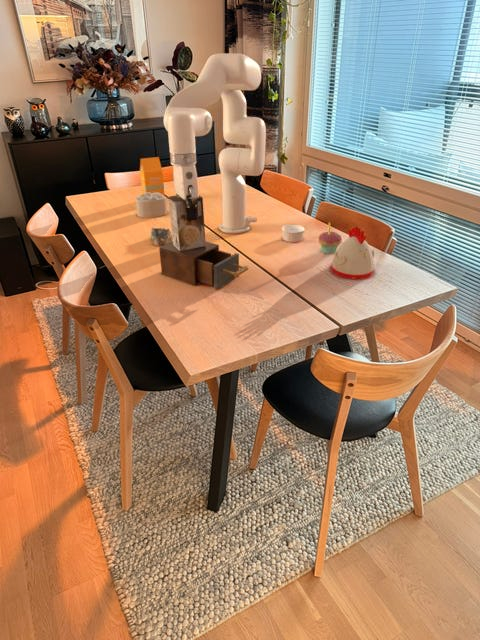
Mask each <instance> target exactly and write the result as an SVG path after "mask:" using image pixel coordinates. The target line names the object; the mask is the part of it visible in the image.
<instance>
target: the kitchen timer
mask: <svg viewBox="0 0 480 640" xmlns="http://www.w3.org/2000/svg"><path fill="white" fill-rule="evenodd" d="M366 238H367V235H365V230H361V228H358V226H355V227H354V228H351V230H350V229H349V230H348V238H347V239H345V240H344V241H342V243H341V244H340V245H339V246H338V247H337V249H336V251H335V253H333V258H332V261H331V264H330V265H331V266H330V269H331V273H333V274H334V275H336V276H337V277H340V278H342V279H347V280H365V279H368V278H370V277H372V276H373V274H374V269H375V260H374V258H375V251H374V249H371V247H370V245H369V243H368V242H367V241H366Z"/></svg>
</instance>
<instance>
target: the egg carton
mask: <svg viewBox="0 0 480 640" xmlns="http://www.w3.org/2000/svg"><path fill="white" fill-rule="evenodd" d="M171 235H172V231H170V229H169V228H165V227H162V228H161V227H160V228H158V227H157V228H156V227H151V231H150V238H151V239H152V244H153V245H154V246H158V247H160V246H161V245H165V244H167V243H170V242H172V239H171Z"/></svg>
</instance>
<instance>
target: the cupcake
mask: <svg viewBox="0 0 480 640" xmlns="http://www.w3.org/2000/svg"><path fill="white" fill-rule="evenodd" d="M331 225H332V224H331V221H328V227H327V229H328V231H324V232H322V233H320V234H319V235H318V243H319V245H320V247H321V250H322V252H323V253H325V254H328V255H330V254H335V251H337V249H338V248H339V246H340V245H341V244H342V243H343V238H342V236H341V235H340V234H339V233H337V232H335V231H331Z"/></svg>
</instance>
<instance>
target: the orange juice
mask: <svg viewBox="0 0 480 640" xmlns="http://www.w3.org/2000/svg"><path fill="white" fill-rule="evenodd" d="M163 173H164V172H163V169H162V164H161V161H160V157H159V156H155V157H143V158H140V162H139V175H140V183H141V191H142V194H144V193H146V192H150V193H151V194H152V193H155V192H158V193H160V194H162V195H163V196H165V197H166V195H165V186H164V175H163Z"/></svg>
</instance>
